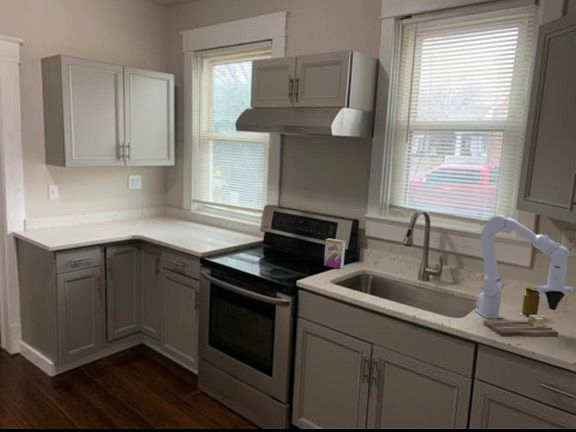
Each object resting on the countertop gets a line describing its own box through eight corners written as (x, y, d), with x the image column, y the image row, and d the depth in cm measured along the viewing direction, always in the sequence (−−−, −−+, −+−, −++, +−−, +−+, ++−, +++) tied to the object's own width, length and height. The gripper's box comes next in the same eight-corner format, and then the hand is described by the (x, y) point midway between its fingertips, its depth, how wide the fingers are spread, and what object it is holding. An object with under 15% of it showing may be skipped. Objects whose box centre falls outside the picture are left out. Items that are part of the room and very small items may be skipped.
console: (483, 324, 180) (484, 318, 180) (536, 324, 183) (537, 318, 183) (501, 336, 168) (501, 330, 168) (557, 335, 172) (558, 330, 171)
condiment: (523, 311, 199) (526, 285, 198) (544, 316, 194) (547, 290, 192) (518, 314, 194) (522, 288, 192) (539, 320, 188) (543, 293, 187)
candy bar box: (323, 266, 261) (325, 239, 259) (326, 264, 265) (328, 237, 263) (340, 269, 256) (342, 241, 253) (343, 267, 260) (345, 240, 258)
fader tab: (527, 323, 178) (529, 314, 178) (534, 323, 179) (535, 315, 178) (535, 328, 174) (536, 319, 174) (542, 328, 174) (543, 319, 174)
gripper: (547, 278, 170) (542, 312, 171) (581, 279, 172) (576, 312, 173) (534, 273, 176) (530, 306, 178) (567, 274, 178) (562, 306, 180)
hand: (552, 309), depth 176 cm, fingers closed
